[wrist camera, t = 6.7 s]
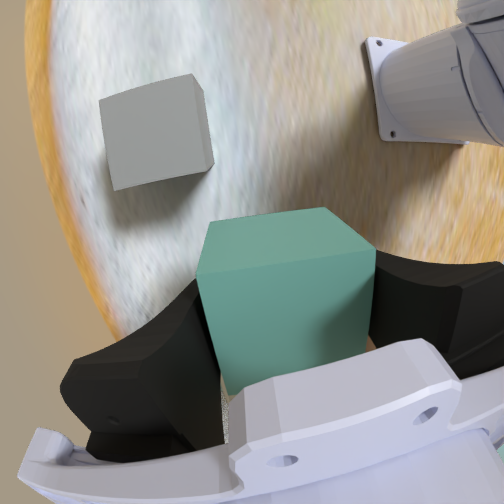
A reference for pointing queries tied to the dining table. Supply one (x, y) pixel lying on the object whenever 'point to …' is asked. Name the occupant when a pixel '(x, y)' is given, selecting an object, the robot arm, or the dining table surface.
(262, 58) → the dining table surface
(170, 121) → the slate block
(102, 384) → the robot arm
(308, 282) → the teal block
